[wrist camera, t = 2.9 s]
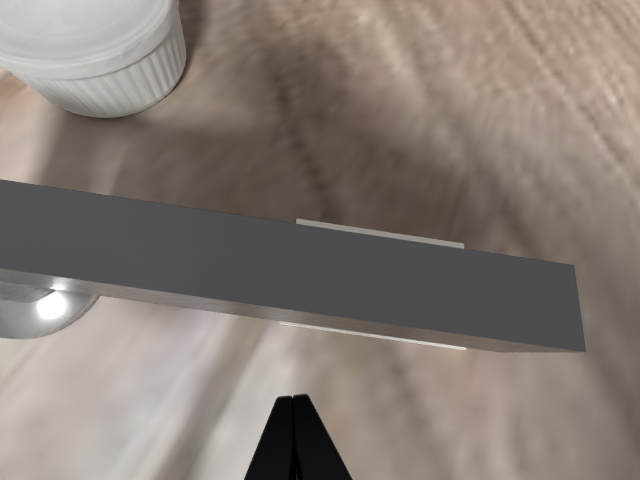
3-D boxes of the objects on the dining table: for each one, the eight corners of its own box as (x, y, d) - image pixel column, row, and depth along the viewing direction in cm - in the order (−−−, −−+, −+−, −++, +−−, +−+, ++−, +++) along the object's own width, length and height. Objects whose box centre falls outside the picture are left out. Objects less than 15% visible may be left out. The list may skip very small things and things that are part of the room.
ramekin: (47, 8, 24) (-19, -84, 19) (204, 11, 25) (180, -76, 20) (10, 136, 20) (-85, 64, 15) (196, 133, 21) (165, 65, 16)
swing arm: (-137, 282, 12) (-389, 243, 7) (-78, 187, 13) (-262, 106, 9) (500, 372, 12) (610, 384, 8) (494, 272, 14) (587, 235, 9)
